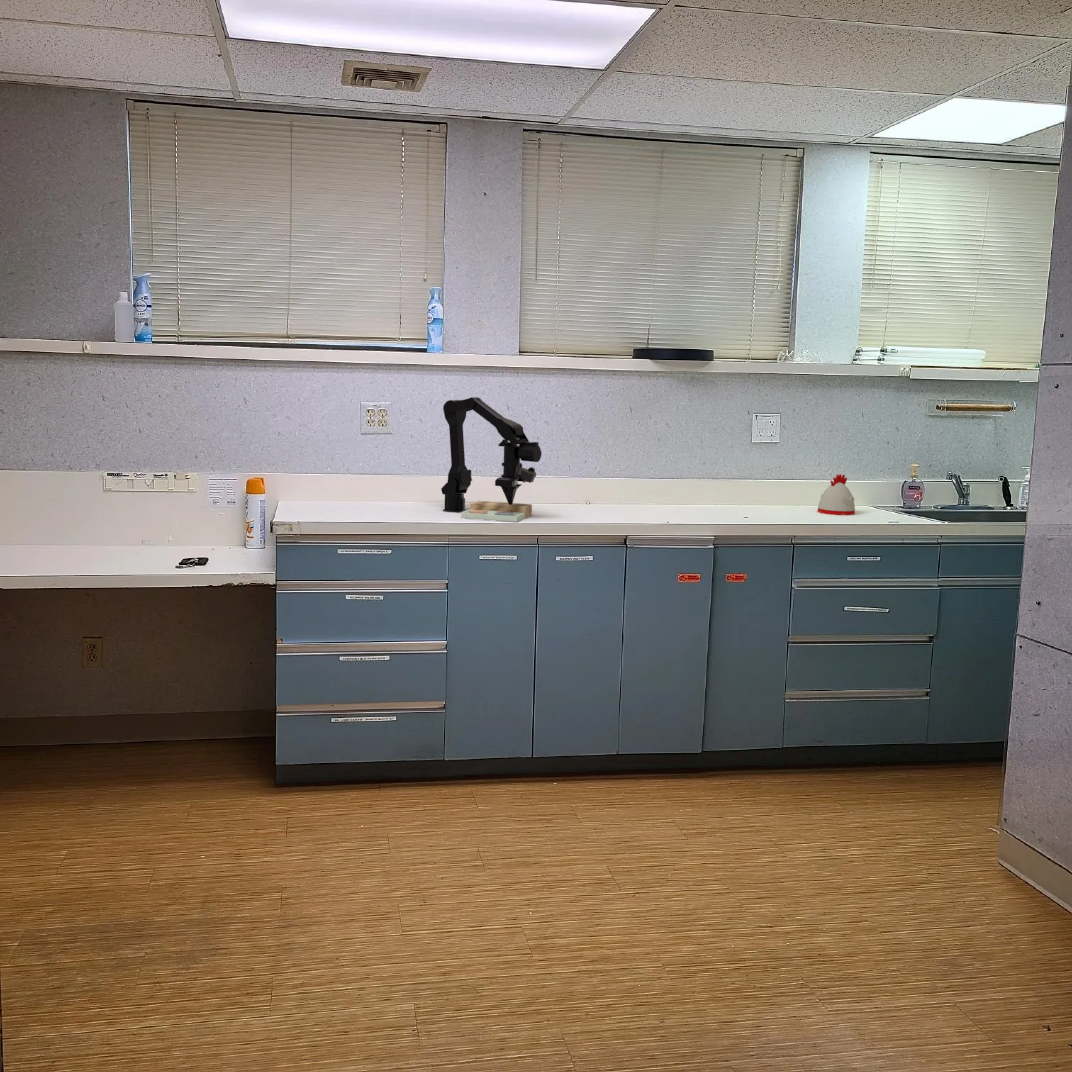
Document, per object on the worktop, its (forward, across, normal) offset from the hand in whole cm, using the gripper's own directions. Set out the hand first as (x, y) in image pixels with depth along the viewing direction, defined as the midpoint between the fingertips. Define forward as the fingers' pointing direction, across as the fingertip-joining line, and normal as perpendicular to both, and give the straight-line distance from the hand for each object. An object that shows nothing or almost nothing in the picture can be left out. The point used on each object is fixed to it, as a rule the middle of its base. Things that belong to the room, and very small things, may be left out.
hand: (510, 504), depth 375 cm
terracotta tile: (+2, -6, +10) cm, 12 cm away
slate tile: (+2, -6, 0) cm, 7 cm away
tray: (+4, -6, +4) cm, 9 cm away
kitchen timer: (+5, +73, -110) cm, 132 cm away
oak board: (+4, +4, +4) cm, 7 cm away
